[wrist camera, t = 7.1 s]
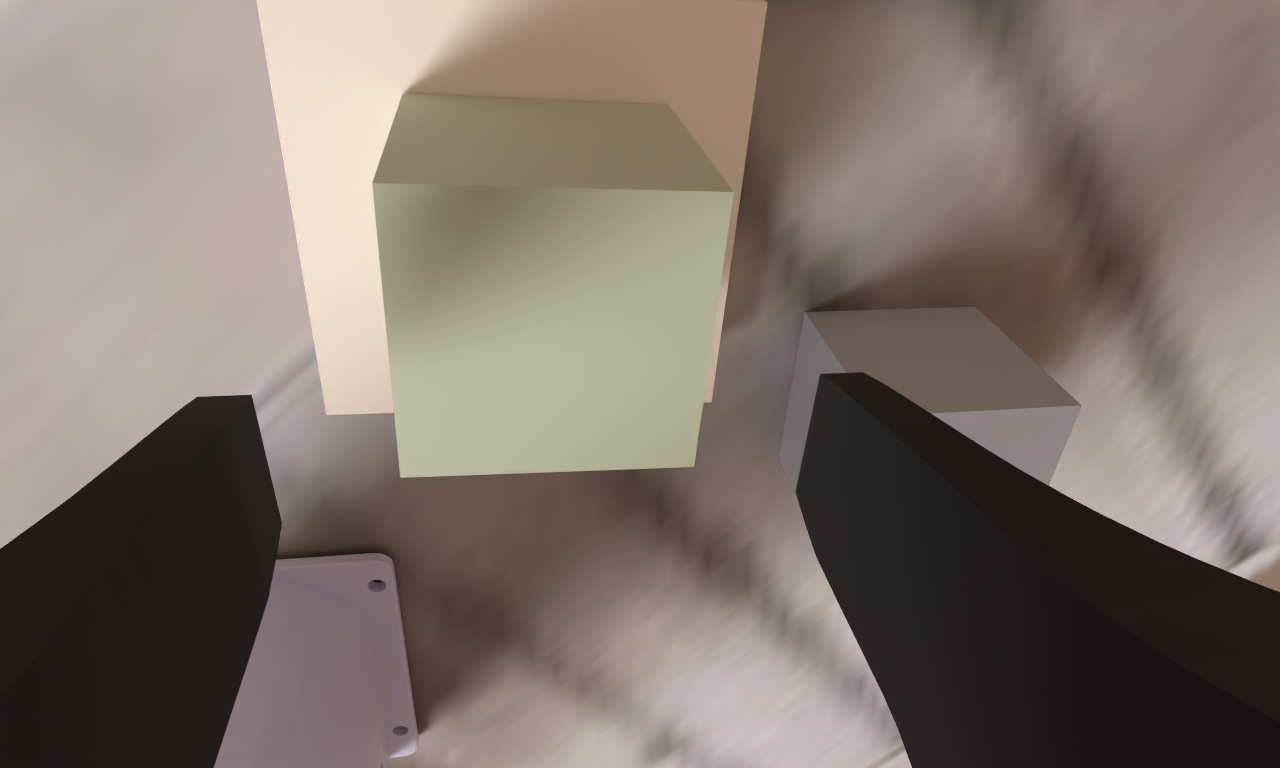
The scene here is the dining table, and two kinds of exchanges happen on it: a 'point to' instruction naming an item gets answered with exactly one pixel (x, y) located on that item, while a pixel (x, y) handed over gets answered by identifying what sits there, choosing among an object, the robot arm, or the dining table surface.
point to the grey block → (936, 380)
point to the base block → (484, 67)
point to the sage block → (547, 284)
